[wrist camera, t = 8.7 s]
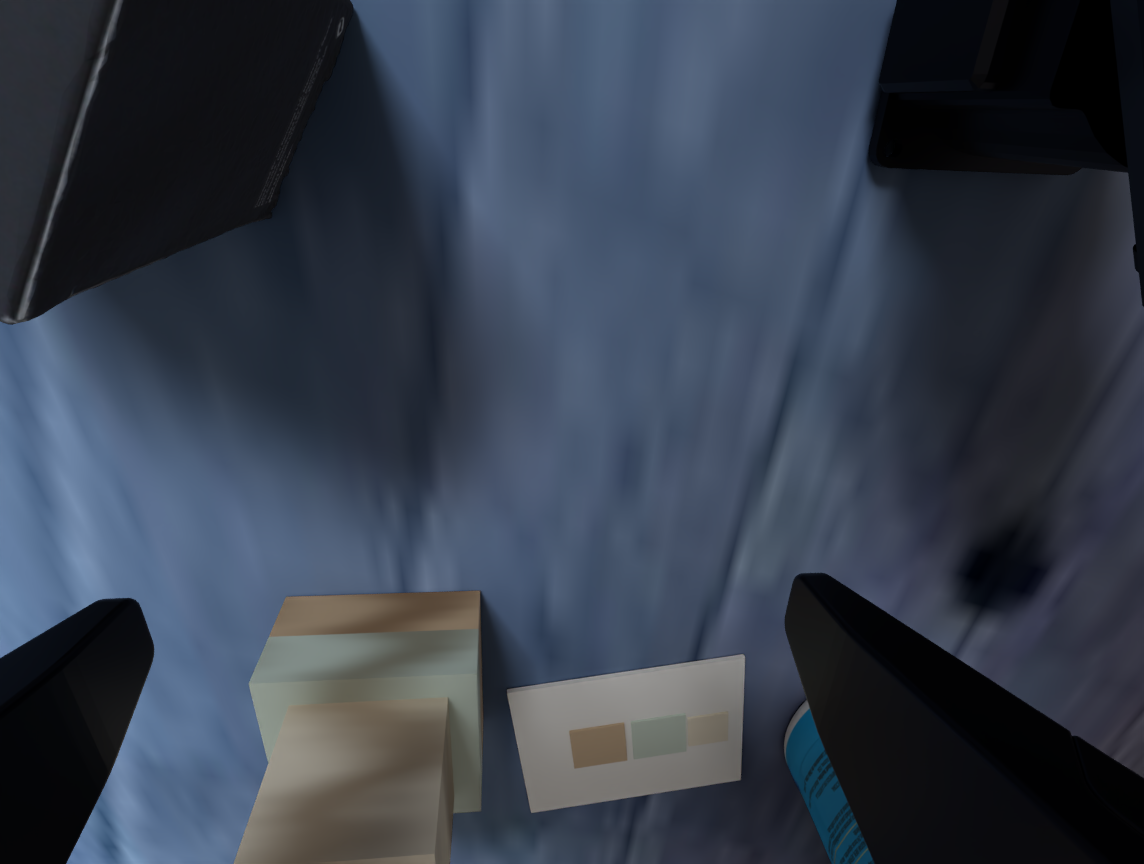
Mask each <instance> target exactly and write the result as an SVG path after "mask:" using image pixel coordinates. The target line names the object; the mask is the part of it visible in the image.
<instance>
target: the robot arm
mask: <svg viewBox="0 0 1144 864" xmlns="http://www.w3.org/2000/svg"><path fill="white" fill-rule="evenodd" d="M879 83H880V86H881V88H882V93H881V98H880V102H879V106H878V111H877V115H876V120H875V124H874V128H873V133H872V137H871V142H870V146H869V156H870V159H871V161H872V162H873V163H874V164H875V165H877V166H881V167H886V168H902V169H927V170H952V171H977V172H1001V173H1026V174H1051V175H1070V174H1074V173H1075V172H1077V171H1079V170H1080V169H1081V168H1090V169H1099V170H1108V171H1117V172H1126V173H1128V174H1129V183H1130V193H1131V202H1132V212H1133V221H1134V230H1135V240H1136V244H1135V245H1134V246H1133V255H1134V264H1135V269H1136V271H1137V272H1139V277H1140V287H1141V296H1142V305H1143V307H1144V0H897V3H896V7H895V12H894V16H893V21H892V25H891V30H890V34H889V38H888V43H887V47H886V52H885V56H884V61H883V65H882V70H881V74H880V79H879ZM890 140H893V141H894V143H895V144H894V150H893V152H892V154H890V155H889V156H888V157H886V155H885V146H886V144H887V143H888V142H889V141H890ZM785 631H786V635H787V638H788V641H789V644H790V648H791V651H792V654H793V657H794V660H795V663H796V667H797V670H798V673H799V676H800V679H801V683H802V686H803V689H804V692H805V695H806V698H807V702H808V705H809V708H810V711H811V714H812V717H813V720H814V723H815V726H816V729H817V732H818V734H819V737H820V739H821V742H822V744H823V747H824V749H825V751H826V754H827V756H828V758H829V760H830V763H831V765H832V767H833V770H834V772H835V774H836V776H837V779H838V781H839V783H840V786H841V788H842V790H843V793H844V795H845V797H846V799H847V802H848V804H849V806H850V809H851V811H852V813H853V815H854V818H855V820H856V822H857V825H858V827H859V829H860V831H861V834H862V836H863V838H864V841H865V843H866V845H867V848H868V850H869V852H870V854H871V857H872V859H873V861H874V864H1144V778H1143V777H1141V776H1139V775H1138V774H1136V773H1135V772H1133V771H1131V770H1130V769H1128V768H1127V767H1125V766H1124V765H1122V764H1120V763H1119V762H1117V761H1116V760H1114V759H1112V758H1111V757H1109V756H1108V755H1106V754H1105V753H1103V752H1101V751H1100V750H1098V749H1097V748H1095V747H1094V746H1092V745H1091V744H1089V743H1088V742H1086V741H1085V740H1083V739H1081V738H1080V737H1078V736H1072V735H1071V733H1070V731H1069V730H1067V729H1066V728H1064V727H1063V726H1061V725H1060V724H1058V723H1056V722H1055V721H1053V720H1052V719H1050V718H1049V717H1047V716H1046V715H1044V714H1043V713H1041V712H1039V711H1038V710H1036V709H1035V708H1033V707H1032V706H1030V705H1029V704H1027V703H1026V702H1024V701H1022V700H1021V699H1019V698H1018V697H1016V696H1015V695H1013V694H1012V693H1010V692H1009V691H1007V690H1005V689H1004V688H1002V687H1001V686H999V685H998V684H996V683H995V682H993V681H992V680H990V679H988V678H987V677H985V676H984V675H982V674H981V673H979V672H978V671H976V670H975V669H973V668H971V667H970V666H968V665H967V664H965V663H964V662H962V661H961V660H959V659H958V658H956V657H955V656H953V655H951V654H950V653H948V652H947V651H945V650H944V649H942V648H941V647H939V646H938V645H936V644H934V643H933V642H931V641H930V640H928V639H927V638H925V637H924V636H922V635H921V634H919V633H917V632H916V631H914V630H913V629H911V628H910V627H908V626H907V625H905V624H904V623H902V622H900V621H899V620H897V619H896V618H894V617H893V616H891V615H890V614H888V613H887V612H885V611H883V610H882V609H880V608H879V607H877V606H876V605H874V604H873V603H871V602H870V601H868V600H866V599H865V598H863V597H862V596H860V595H859V594H857V593H856V592H854V591H853V590H851V589H849V588H848V587H846V586H845V585H843V584H842V583H840V582H839V581H837V580H836V579H834V578H832V577H831V576H829V575H827V574H825V573H802V574H799V575H797V576H796V577H795V578H794V581H793V584H792V588H791V592H790V597H789V601H788V605H787V609H786V614H785ZM153 657H154V644H153V640H152V637H151V635H150V632H149V629H148V626H147V623H146V621H145V618H144V615H143V612H142V609H141V607H140V605H139V603H138V602H137V601H136V600H134V599H131V598H115V599H102V600H98V601H96V602H94V603H92V604H91V605H89V606H87V607H86V608H84V609H82V610H81V611H79V612H77V613H76V614H74V615H72V616H70V617H69V618H67V619H65V620H64V621H62V622H60V623H59V624H57V625H55V626H54V627H52V628H50V629H49V630H47V631H45V632H44V633H42V634H40V635H39V636H37V637H35V638H33V639H32V640H30V641H28V642H27V643H25V644H23V645H22V646H20V647H18V648H17V649H15V650H13V651H12V652H10V653H8V654H7V655H5V656H3V657H2V658H0V864H66V863H67V861H68V859H69V857H70V855H71V853H72V851H73V849H74V847H75V845H76V843H77V841H78V839H79V837H80V835H81V833H82V831H83V829H84V827H85V825H86V823H87V821H88V819H89V817H90V815H91V812H92V810H93V808H94V806H95V804H96V802H97V800H98V798H99V796H100V794H101V792H102V790H103V788H104V786H105V784H106V782H107V779H108V777H109V775H110V773H111V770H112V768H113V765H114V763H115V761H116V758H117V756H118V753H119V750H120V748H121V745H122V742H123V740H124V737H125V734H126V732H127V729H128V726H129V724H130V721H131V718H132V716H133V713H134V710H135V708H136V705H137V702H138V700H139V697H140V694H141V692H142V689H143V686H144V684H145V681H146V678H147V676H148V673H149V670H150V668H151V665H152V662H153Z"/></svg>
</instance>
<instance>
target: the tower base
mask: <svg viewBox="0 0 1144 864" xmlns="http://www.w3.org/2000/svg"><path fill="white" fill-rule="evenodd" d="M249 687H250V691H251V695H252V699H253V703H254V707H255V711H256V715H257V720H258V724H259V728H260V732H261V736H262V740H263V744H264V748H265V752H266V756H267V760H268V764H269V761H270V758H271V755H272V752H273V749H274V746H275V744H276V741H277V738H278V735H279V732H280V729H281V726H282V723H283V721H284V718H285V715H286V712H287V709H288V706H289V705H305V704H325V703H344V702H364V701H383V700H403V699H422V698H442V697H448V704H449V719H450V735H451V751H452V767H453V783H454V809H453V813H465V812H479V811H481V793H482V754H483V685H482V645H481V606H480V591H454V592H423V593H391V594H360V595H328V596H297V597H286V598H285V601H284V603H283V605H282V608H281V610H280V612H279V615H278V617H277V619H276V622H275V624H274V626H273V629H272V631H271V633H270V636H269V638H268V640H267V642H266V645H265V647H264V649H263V652H262V654H261V656H260V659H259V661H258V663H257V666H256V668H255V670H254V673H253V675H252V677H251V680H250V682H249Z"/></svg>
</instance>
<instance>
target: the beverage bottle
mask: <svg viewBox="0 0 1144 864" xmlns="http://www.w3.org/2000/svg"><path fill="white" fill-rule="evenodd" d="M784 754H785V759H786V762H787V765H788V768H789V770H790V772H791V775H792V777H793V779H794V781H795V783H796V785H797V787H798V789H799V791H800V793H801V795H802V797H803V799H804V801H805V804H806V806H807V808H808V810H809V813H810V815H811V817H812V819H813V822H814V824H815V826H816V829H817V831H818V833H819V836H820V838H821V840H822V843H823V845H824V847H825V849H826V852H827V854H828V856H829V859H830V861H831V863H832V864H874V861H873V859H872V857H871V854H870V852H869V850H868V848H867V845H866V843H865V841H864V838H863V836H862V834H861V831H860V829H859V827H858V825H857V822H856V820H855V818H854V815H853V813H852V811H851V809H850V806H849V804H848V802H847V799H846V797H845V795H844V793H843V790H842V788H841V786H840V783H839V781H838V779H837V776H836V774H835V772H834V770H833V767H832V765H831V763H830V760H829V758H828V756H827V754H826V751H825V749H824V747H823V744H822V742H821V739H820V737H819V734H818V732H817V729H816V726H815V723H814V720H813V717H812V714H811V711H810V708H809V705H808V702H807V700H806V701H805V702H804V703H803V704H802V705H801V706H800V708H799V709H798V710H797V711H796V713H795V714H794V716H793V718H792V719H791V721H790V723H789V726H788V728H787V731H786V735H785V740H784Z"/></svg>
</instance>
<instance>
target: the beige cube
mask: <svg viewBox="0 0 1144 864" xmlns="http://www.w3.org/2000/svg"><path fill="white" fill-rule="evenodd" d="M453 809H454V783H453V767H452V751H451V735H450V719H449V704H448V697H442V698H422V699H403V700H383V701H364V702H344V703H325V704H305V705H289V706H288V709H287V712H286V715H285V718H284V721H283V723H282V726H281V729H280V732H279V735H278V738H277V741H276V744H275V746H274V749H273V752H272V755H271V758H270V761H269V764H268V766H267V769H266V772H265V775H264V778H263V781H262V784H261V787H260V789H259V792H258V795H257V798H256V801H255V804H254V807H253V809H252V812H251V815H250V818H249V821H248V824H247V827H246V829H245V832H244V835H243V838H242V841H241V844H240V847H239V850H238V852H237V855H236V858H235V861H234V864H450V855H451V839H452V824H453Z"/></svg>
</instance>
